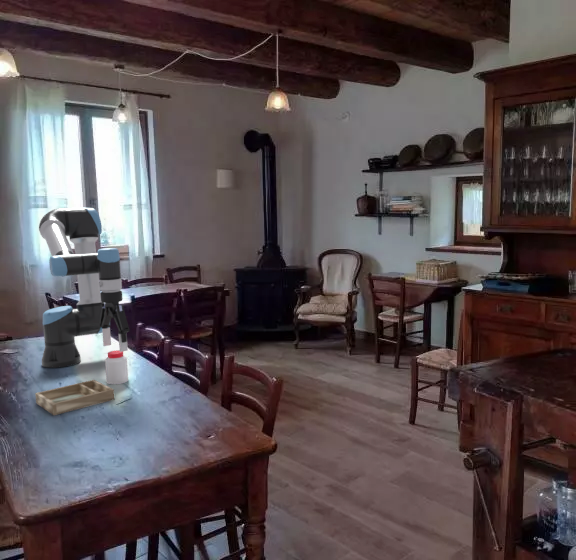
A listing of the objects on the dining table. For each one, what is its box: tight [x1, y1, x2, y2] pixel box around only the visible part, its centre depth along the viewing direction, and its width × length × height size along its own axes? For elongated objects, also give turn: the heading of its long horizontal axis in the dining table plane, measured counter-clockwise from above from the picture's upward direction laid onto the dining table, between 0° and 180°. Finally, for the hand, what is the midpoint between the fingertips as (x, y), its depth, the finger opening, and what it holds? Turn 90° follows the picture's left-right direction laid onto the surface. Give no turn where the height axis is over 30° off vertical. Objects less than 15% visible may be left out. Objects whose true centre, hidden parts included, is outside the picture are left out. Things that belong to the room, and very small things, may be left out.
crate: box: [34, 379, 116, 416], centre depth 188 cm, size 16×20×4 cm
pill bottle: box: [104, 349, 129, 385], centre depth 209 cm, size 8×8×11 cm
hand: (115, 348), depth 208 cm, fingers open, 13 cm apart
